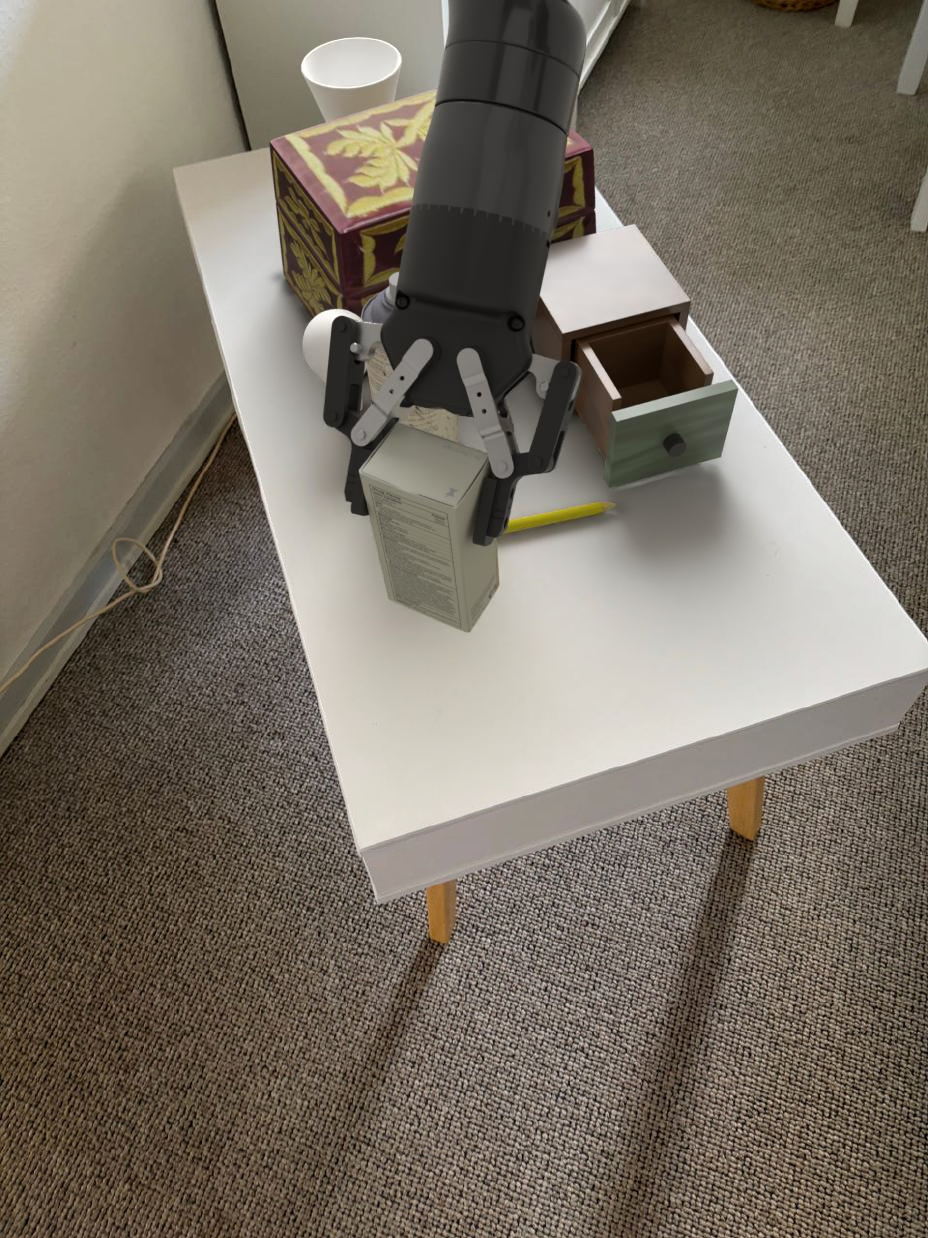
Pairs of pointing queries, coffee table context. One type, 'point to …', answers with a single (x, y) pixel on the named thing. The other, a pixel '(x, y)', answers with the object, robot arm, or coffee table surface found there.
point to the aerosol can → (381, 369)
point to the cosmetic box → (430, 524)
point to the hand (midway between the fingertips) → (421, 528)
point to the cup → (352, 75)
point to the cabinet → (602, 290)
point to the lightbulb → (322, 341)
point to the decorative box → (375, 200)
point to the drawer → (650, 400)
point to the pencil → (558, 516)
